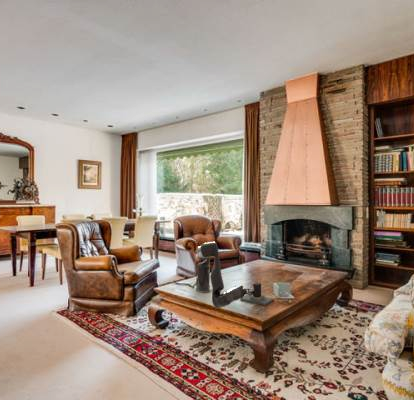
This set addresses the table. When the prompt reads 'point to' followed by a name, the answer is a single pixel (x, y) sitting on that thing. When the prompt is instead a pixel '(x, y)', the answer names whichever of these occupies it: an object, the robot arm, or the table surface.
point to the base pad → (257, 300)
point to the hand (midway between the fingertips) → (248, 288)
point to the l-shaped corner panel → (282, 290)
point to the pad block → (257, 290)
